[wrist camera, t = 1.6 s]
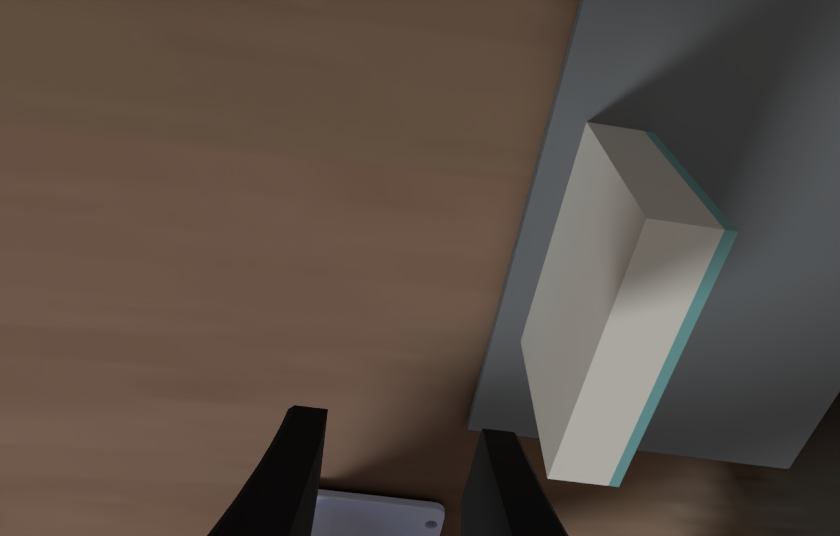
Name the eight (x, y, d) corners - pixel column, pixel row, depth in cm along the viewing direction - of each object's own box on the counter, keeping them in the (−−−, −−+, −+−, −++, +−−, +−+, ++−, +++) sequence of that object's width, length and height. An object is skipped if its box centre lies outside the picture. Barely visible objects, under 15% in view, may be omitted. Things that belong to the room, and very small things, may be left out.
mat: (784, 461, 26) (788, 468, 26) (467, 422, 25) (467, 430, 25) (1065, 25, 18) (1077, 28, 17) (595, -60, 17) (599, -58, 16)
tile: (576, 348, 23) (618, 486, 18) (520, 341, 23) (547, 478, 18) (653, 132, 19) (738, 231, 14) (586, 121, 19) (646, 218, 14)
